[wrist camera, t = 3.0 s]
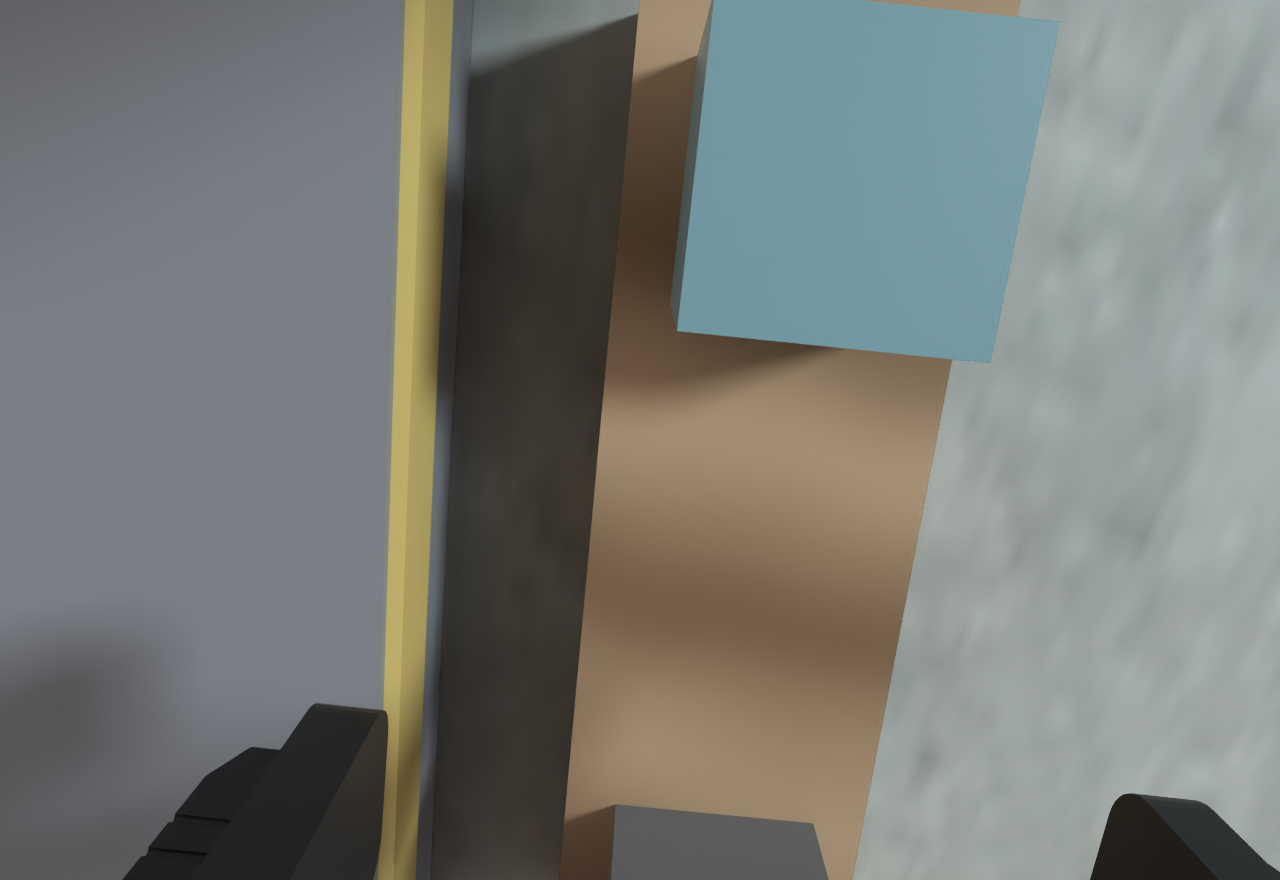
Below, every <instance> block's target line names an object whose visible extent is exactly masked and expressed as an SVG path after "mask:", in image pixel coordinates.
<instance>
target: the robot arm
mask: <svg viewBox="0 0 1280 880" xmlns="http://www.w3.org/2000/svg"><path fill="white" fill-rule="evenodd" d="M387 744H388V715H387V712H386V711H385V710H377V709H368V708H359V707H350V706H340V705H331V704H322V703H315V704H313V705H312V706H311V707H310V708H309V709H308V710H307V712H306V713H305V715H304V716H303V718H302V719H301V721H300V722H299V723H298V725H297V726H296V728H295V729H294V731H293V732H292V733H291V735H290V736H289V738H288V739H287V741H286V742H285V744H284V745H283V746H282V748H281V749H280V750H278V749H268V748H259V747H250V748H248V749H247V750H245V751H244V752H242V753H240V754H239V755H237V756H236V757H234V758H233V759H231V760H229V761H228V762H226V763H225V764H223V765H222V766H220V767H219V768H217V769H215V770H214V771H212V772H211V773H209V774H208V775H206V776H205V777H204V778H203V779H202V781H201V782H200V783H199V784H198V786H197V787H196V788H195V789H194V791H193V792H192V793H191V794H190V796H189V797H188V798H187V799H186V801H185V802H184V803H183V804H182V806H181V807H180V808H179V809H178V811H177V812H176V813H175V817H174V820H173V822H168V823H167V824H166V826H165V827H164V828H163V829H162V831H161V832H160V833H159V834H158V836H157V837H156V838H155V839H154V841H153V842H152V843H151V844H150V846H149V847H148V852H147V854H146V856H141V857H140V858H139V859H138V861H137V862H136V863H135V864H134V866H133V867H132V868H131V869H130V871H129V872H128V873H127V874H126V876H125V877H124V878H123V879H122V880H373V879H374V875H375V871H376V866H377V862H378V856H379V851H380V844H381V835H382V821H383V806H384V790H385V775H386V760H387ZM1090 880H1280V872H1279V871H1278V870H1276V869H1275V868H1273V867H1272V866H1270V865H1269V864H1267V863H1266V862H1265V861H1264V860H1263V859H1262V858H1261V857H1260V856H1259V855H1258V854H1257V853H1256V852H1255V851H1254V850H1253V849H1252V848H1251V847H1250V846H1249V845H1248V844H1247V843H1246V842H1245V841H1244V840H1243V839H1242V838H1241V837H1240V836H1239V835H1238V834H1237V833H1236V832H1235V831H1234V830H1233V829H1232V828H1231V827H1230V826H1229V825H1228V824H1227V823H1226V822H1225V821H1224V820H1222V819H1221V818H1220V817H1219V816H1218V815H1217V814H1216V813H1215V812H1214V811H1213V810H1212V809H1211V808H1210V807H1209V806H1207V805H1205V804H1204V803H1202V802H1199V801H1196V800H1186V799H1177V798H1168V797H1159V796H1150V795H1140V794H1124V795H1122V796H1120V797H1119V798H1118V799H1117V800H1116V801H1115V803H1114V804H1113V806H1112V808H1111V811H1110V813H1109V817H1108V820H1107V824H1106V827H1105V831H1104V834H1103V837H1102V841H1101V844H1100V848H1099V851H1098V855H1097V858H1096V861H1095V865H1094V868H1093V872H1092V875H1091V879H1090Z"/></svg>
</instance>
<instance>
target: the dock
mask: <svg viewBox="0 0 1280 880" xmlns="http://www.w3.org/2000/svg"><path fill="white" fill-rule="evenodd" d="M472 14H473V0H0V880H122V879H123V878H124V877H125V876H126V874H127V873H128V872H129V871H130V869H131V868H132V867H133V866H134V864H135V863H136V862H137V861H138V859H139V858H140V857H141V856H146V854H147V852H148V847H149V846H150V844H151V843H152V842H153V841H154V839H155V838H156V837H157V836H158V834H159V833H160V832H161V831H162V829H163V828H164V827H165V826H166V824H167V823H168V822H173V820H174V817H175V813H176V812H177V811H178V809H179V808H180V807H181V806H182V804H183V803H184V802H185V801H186V799H187V798H188V797H189V796H190V794H191V793H192V792H193V791H194V789H195V788H196V787H197V786H198V784H199V783H200V782H201V781H202V779H203V778H204V777H205V776H206V775H208V774H209V773H211V772H212V771H214V770H215V769H217V768H219V767H220V766H222V765H223V764H225V763H226V762H228V761H229V760H231V759H233V758H234V757H236V756H237V755H239V754H240V753H242V752H244V751H245V750H247V749H248V748H250V747H259V748H268V749H278V750H280V749H281V748H282V746H283V745H284V744H285V742H286V741H287V739H288V738H289V736H290V735H291V733H292V732H293V731H294V729H295V728H296V726H297V725H298V723H299V722H300V721H301V719H302V718H303V716H304V715H305V713H306V712H307V710H308V709H309V708H310V707H311V706H312V705H313V704H315V703H322V704H331V705H340V706H350V707H359V708H368V709H377V710H385V711H386V712H387V715H388V744H387V760H386V775H385V790H384V806H383V821H382V835H381V844H380V851H379V856H378V862H377V866H376V871H375V875H374V879H373V880H430V878H431V858H432V837H433V817H434V796H435V775H436V755H437V734H438V714H439V693H440V673H441V652H442V631H443V611H444V590H445V570H446V549H447V529H448V508H449V487H450V467H451V446H452V426H453V405H454V384H455V364H456V343H457V323H458V302H459V282H460V261H461V240H462V220H463V199H464V179H465V158H466V137H467V117H468V96H469V76H470V55H471V35H472Z"/></svg>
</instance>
